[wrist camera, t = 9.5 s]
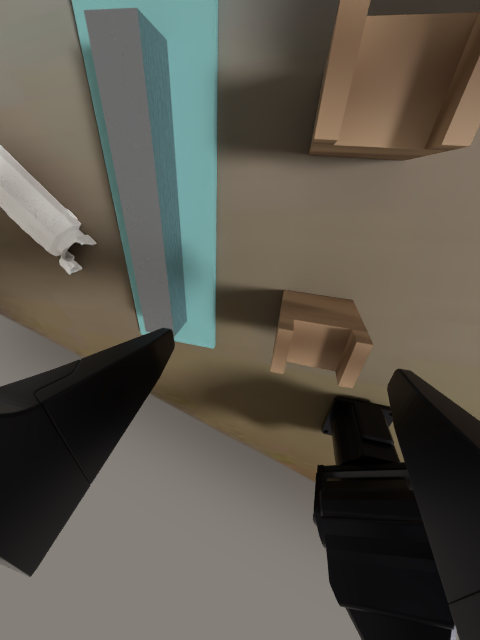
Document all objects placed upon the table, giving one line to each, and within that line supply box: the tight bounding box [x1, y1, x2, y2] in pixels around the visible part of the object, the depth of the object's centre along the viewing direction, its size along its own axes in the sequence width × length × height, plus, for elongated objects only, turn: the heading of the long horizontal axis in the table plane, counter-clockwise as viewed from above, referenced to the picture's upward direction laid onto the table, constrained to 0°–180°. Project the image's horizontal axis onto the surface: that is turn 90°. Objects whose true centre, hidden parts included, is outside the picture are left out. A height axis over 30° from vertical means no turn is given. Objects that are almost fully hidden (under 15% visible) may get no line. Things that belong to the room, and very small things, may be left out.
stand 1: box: [270, 290, 373, 388], centre depth 18 cm, size 4×6×6 cm, turn 86°
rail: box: [84, 8, 187, 337], centre depth 18 cm, size 20×3×3 cm, turn 176°
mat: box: [72, 0, 218, 349], centre depth 19 cm, size 26×9×1 cm, turn 176°
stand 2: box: [309, 0, 480, 160], centre depth 11 cm, size 4×6×6 cm, turn 86°
